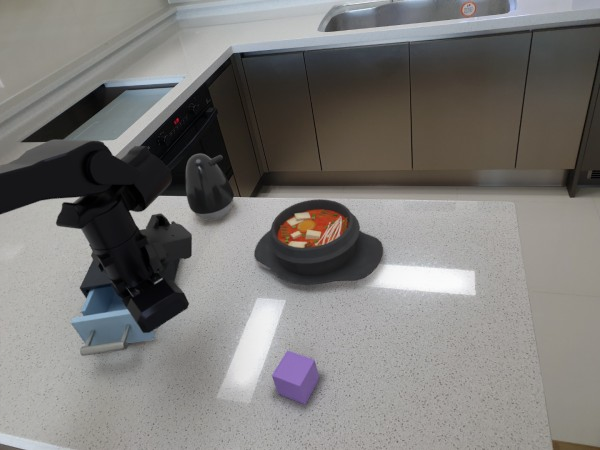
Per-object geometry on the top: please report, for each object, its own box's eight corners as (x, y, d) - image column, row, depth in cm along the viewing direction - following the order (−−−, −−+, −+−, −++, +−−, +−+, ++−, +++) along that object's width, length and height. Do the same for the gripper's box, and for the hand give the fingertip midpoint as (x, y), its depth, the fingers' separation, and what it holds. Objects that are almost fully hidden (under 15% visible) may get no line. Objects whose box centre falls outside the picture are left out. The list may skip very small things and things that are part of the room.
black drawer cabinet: (167, 310, 83) (150, 276, 78) (100, 321, 84) (79, 288, 79) (180, 257, 95) (166, 225, 90) (121, 267, 96) (104, 235, 90)
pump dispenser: (236, 223, 101) (217, 163, 92) (190, 229, 102) (167, 171, 93) (241, 197, 109) (224, 140, 100) (199, 203, 110) (178, 147, 101)
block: (305, 404, 64) (299, 386, 61) (277, 393, 66) (271, 375, 63) (319, 378, 67) (315, 359, 64) (292, 368, 69) (287, 350, 66)
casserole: (396, 236, 89) (394, 201, 84) (364, 306, 76) (359, 269, 71) (282, 219, 99) (274, 187, 94) (238, 278, 87) (226, 244, 82)
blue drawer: (148, 363, 73) (131, 335, 69) (79, 373, 74) (59, 346, 70) (168, 283, 88) (156, 256, 84) (111, 292, 88) (96, 266, 84)
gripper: (206, 233, 53) (239, 322, 62) (144, 180, 66) (180, 261, 75) (115, 285, 48) (166, 373, 58) (68, 217, 61) (116, 298, 70)
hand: (158, 319), depth 65 cm, fingers closed
